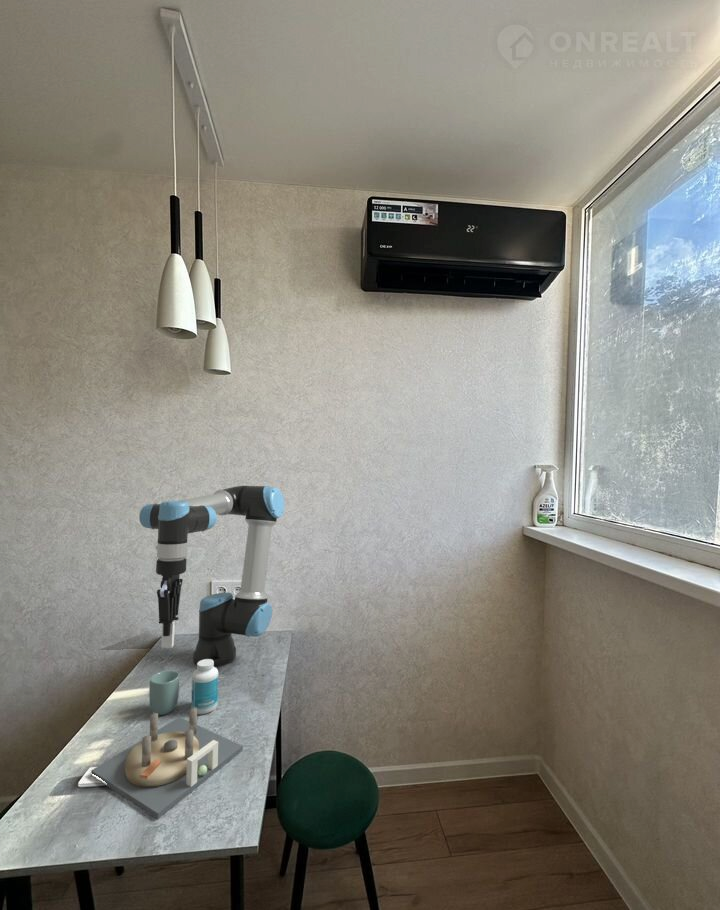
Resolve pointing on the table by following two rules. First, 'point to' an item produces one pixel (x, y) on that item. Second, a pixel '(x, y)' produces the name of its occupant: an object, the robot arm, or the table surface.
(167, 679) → the cup
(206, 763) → the stand
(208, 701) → the pill bottle
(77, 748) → the table surface
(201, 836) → the table surface
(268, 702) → the table surface
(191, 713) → the disc
